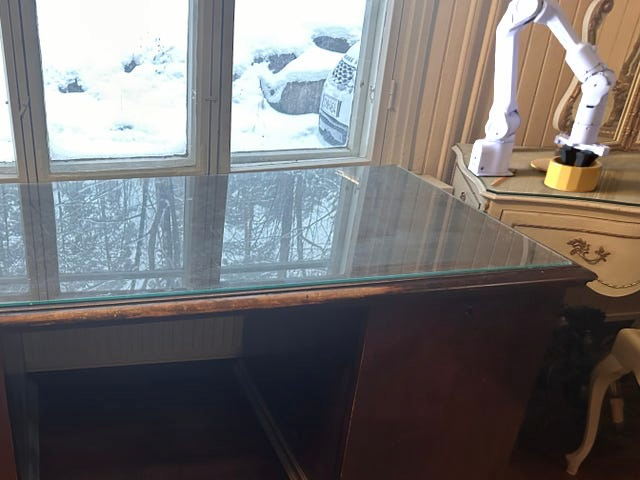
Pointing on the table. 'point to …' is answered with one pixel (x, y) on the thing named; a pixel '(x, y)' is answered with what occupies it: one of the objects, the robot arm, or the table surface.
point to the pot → (572, 176)
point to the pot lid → (543, 162)
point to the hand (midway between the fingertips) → (571, 177)
